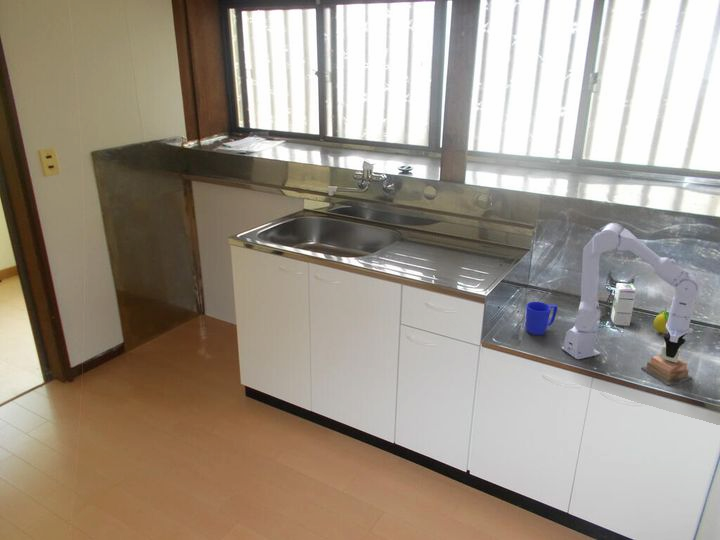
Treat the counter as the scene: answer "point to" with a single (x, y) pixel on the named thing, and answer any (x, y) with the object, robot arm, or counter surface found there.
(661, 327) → the lemon
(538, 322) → the mug
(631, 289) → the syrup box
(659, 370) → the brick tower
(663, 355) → the sage brick
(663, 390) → the counter surface
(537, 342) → the counter surface
